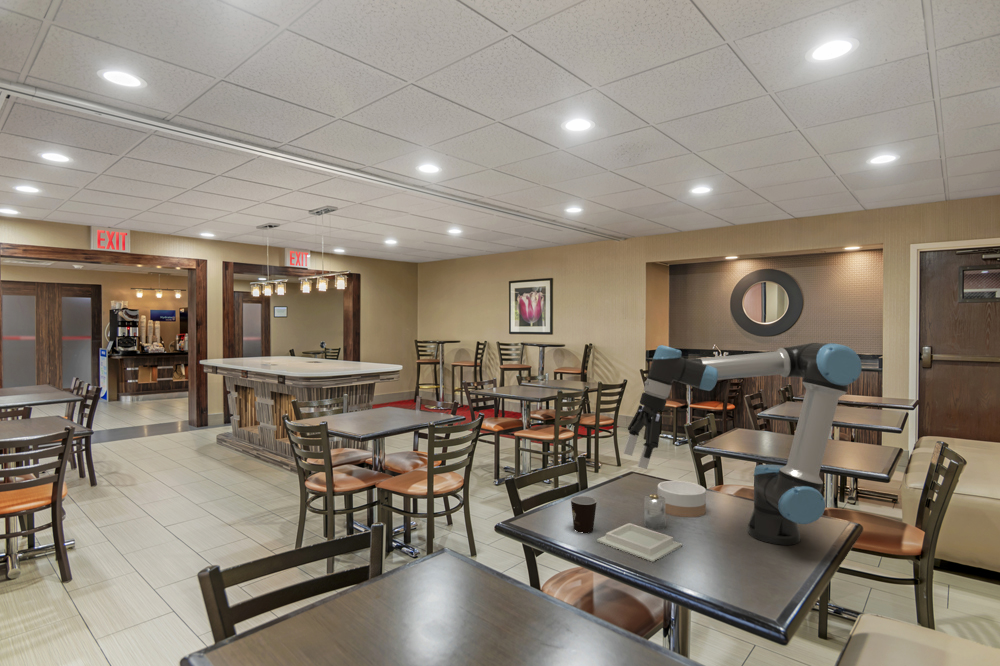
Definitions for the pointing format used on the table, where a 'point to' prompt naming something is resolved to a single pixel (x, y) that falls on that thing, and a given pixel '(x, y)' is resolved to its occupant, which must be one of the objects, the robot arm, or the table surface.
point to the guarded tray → (640, 541)
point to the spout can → (654, 511)
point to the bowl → (683, 498)
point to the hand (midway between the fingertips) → (634, 460)
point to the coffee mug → (583, 513)
